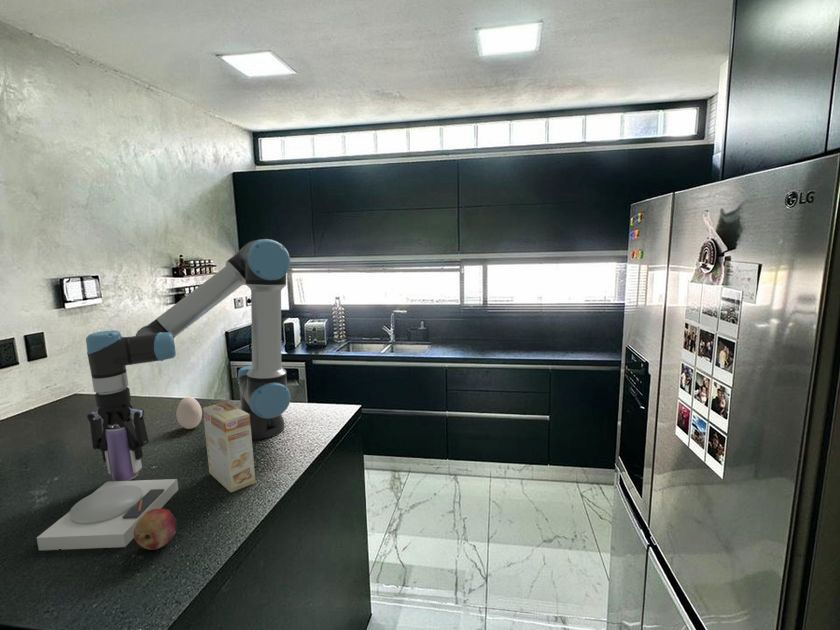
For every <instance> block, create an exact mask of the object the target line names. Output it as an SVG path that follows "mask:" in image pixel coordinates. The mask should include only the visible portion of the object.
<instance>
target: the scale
mask: <svg viewBox="0 0 840 630" xmlns="http://www.w3.org/2000/svg"><path fill="white" fill-rule="evenodd" d="M178 483H179V482H178V479H177V478H169V479H167V478H166V479H146V480H145V479H143V480H141V479H140V480H129V481H114V480H112V481H110V480H109V481H106V482H104V484H102V485H100V487H98V488H97V489H95V491H94V492H92V493H91V494H89V495H87V496H85V497H84V498H82V499H80V500H79V501H76V503H75V504H74V505H73V506H71V508H70V510H69V511H68V512H67V513H66V514H64V515H63V516H62V517H61V518H59V519H58V520H57V521H56V522H55V523H53V524H52V525H50V526H49V527H48V528H47V529H45V530H44V531H42V533H40V535H38V536H37V537H36V541H37V546H38V547H37V548H38V551H55V550H56V551H57V550H58V551H60V550H59V549H61V551H62V550H85V549H86V550H87V549H105V548H106V549H107V548H108V549H109V548H110V549H112V548H126V547H127V546H128V544H129V543H131V541H132V540H134V539H135V538H134V529H135V526H136V524H137V522H138V521H139V520H140V519H141V518H142V516H143V515H144V514H145V513H147V512H148V511H150V510H153V509H163V507H164V506H165V505H166V503H168V501H170V500H171V498H172V497H173V496H174V495H175V494H176V493H177V492H178V490H179V484H178Z"/></svg>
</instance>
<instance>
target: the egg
mask: <svg viewBox="0 0 840 630" xmlns="http://www.w3.org/2000/svg"><path fill="white" fill-rule="evenodd" d="M175 417H176V420H177V422H178V424H179V425H180V426H181V427H182V428H183V429H187V430H192V429H195V428H196V427H197V426H198V425H199V424H200V423H201V420H202V417H203V408H202V406H201V405H200V403H199V401H198V400H196V398H194V397H191V396H186V397H184V398H182V399H181V400H180V402H179V403H178V406H177V408H176V416H175Z"/></svg>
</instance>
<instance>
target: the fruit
mask: <svg viewBox="0 0 840 630" xmlns="http://www.w3.org/2000/svg"><path fill="white" fill-rule="evenodd" d="M177 528H178V522H177V519H176V517H175V516H174V515H173V513H172V512H171V510H169V509H168V508H167V509H166V508H161V509H153V510H150V511H148V512H147V513H145V514H144V515H143V516H142V518H141V519H140V520H139V521H138V522H137V524H136V526H135V529H134V538H133V539H134V540H135V542H136V543H137V544H138V545H139V546H140V547H141V548H142V549H146V550H149V551H151V550H152V551H153V550H158V549H161V548H163V547H164V546H166V545H168V543H170V541H171V540H172V539H173V537H174V536H175V534H176V532H177Z"/></svg>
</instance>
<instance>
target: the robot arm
mask: <svg viewBox="0 0 840 630" xmlns="http://www.w3.org/2000/svg"><path fill="white" fill-rule="evenodd" d="M290 266H291V257H290V254H289V251H288V250H287V248H286V247H285V246H284V245H283V244H282V243H281V242H280V243H279V242H278V241H277V240H274V239H270V238H269V239H268V238H263V239H261V238H260V239H255V240H251V241H249V242H247V243H246V244H245V245H244V246H242V248H241V249H239V250H238V251H237V252H236V253H235V254H233V256H231V257H230V258H229V259H227V261H225V266H224V267H222V268H221V269H220V270H219V271H218V272H216V273H215V274H213V275H212V276H211V277H209V278H208V279H207V280H206V281H204V282H202V284H200V285H199V286H198V287H196V288H195V289H193V290H192V291H191V292H190V293H188V294H187V295H186V296H184V297H183V298H181V300H179V301H178V302H176V303H175V304H174V305H172V306H171V307H170V308H169V309H167V310H166V311H164V312H163V313H162V314H160V315H159V316H158V317H156V318H155V319H154V320H152V321H151V322H150V323H148V324H147V325H144V326H142V327H141V328H139V329H138V330H137V332H136V334H135V335H133V336H123V335H121V331H119V330H116V329H115V330H102V331H95V332H93V333H90V334H88V335H87V336H86V339H85V342H86V343H85V344H86V354H87V359H88V365H89V370H90V373H91V374H90V375H91V382H92V387H93V392H94V393H95V394H94V398H95V404H96V407H97V410H94V411H91V412H90V413H88V414H87V416H86V417H87V420H88V421H89V424H90V434H91V442H92V448H93V450H100V451H101V454H102V460H103V462H105V463H106V468H107V474H108V475H112V470H111V464H110V458H109V452H108V446H107V440H106V435H105V431H106V428H107V429H108V428H109V427H112V426H113V425H114V424H119V426H120V427H121V428H123V427H125V430H126V432H127V438H128V441H129V443H130V445H131V446H132V449H131V450H130V456H131V462H132V469H133V473H136V472H138V471H139V472H140V470H141V469H142V468H143V467H142V460H141V459H142V458H143V456H144V454H143V449H142V448H143V447H144V446H145V445H147V444H148V443H149V437H148V433H147V427H146V422H145V419H144V415H145V409H144V408H140V409H137V408H134V407H133V405H132V404H131V391H130V387H128V386H129V379H128V373H127V366H132V365H133V366H134V365H137V364H144V363H153V362H159V361H160V362H162V361H166V360H171V359H174V358H175V357H176V355H177V354H176V352H177V351H176V345H175V344H176V343H175V338H176V337H177V336H179V335H180V334H181V333H182V332H184V331H185V330H186V329H188V328H189V327H190V326H192V325H193V324H194V323H195V322H197V321H198V320H199V319H200V318H202V317H203V316H204V315H205V314H207V313H209V312H210V311H211V310H212V309H213V308H215V307H216V306H217V305H219V304H220V303H221V302H222V301H224V300H225V299H226V298H228V297H229V296H230V295H231V294H232V293H234V292H235V291H237V290H238V289H239V288H241V287H242V286H247V287H248V289H250V296H251V297H250V299H251V301H250V302H251V305H250V309H251V310H250V311H251V315H250V316H251V365H247V366H243V367H241V368H239V369H238V372H237V373H238V374H237V379H238V388H239V397H240V398H239V399H240V409H241V410H243V411H245V412H246V413H248V414H250V425H251V436H252V441H253V440H263V439H268V438H271V437H274V436H277V435H279V434H280V433H282V432H283V431H284V430H285V420H284V417H283V415H282V414H283V413H284V412H286V410H287V409H288V408H289V406H290V404H291V393H290V389H289V388H288V387H287V380H288V379H287V370H286V369H285V368H284V367H283V366H282V289H284V288H285V287H286V286H287V273H288V271H289V269H290ZM102 420H103V421H102ZM125 421H126V422H125ZM124 422H125V423H124Z"/></svg>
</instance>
